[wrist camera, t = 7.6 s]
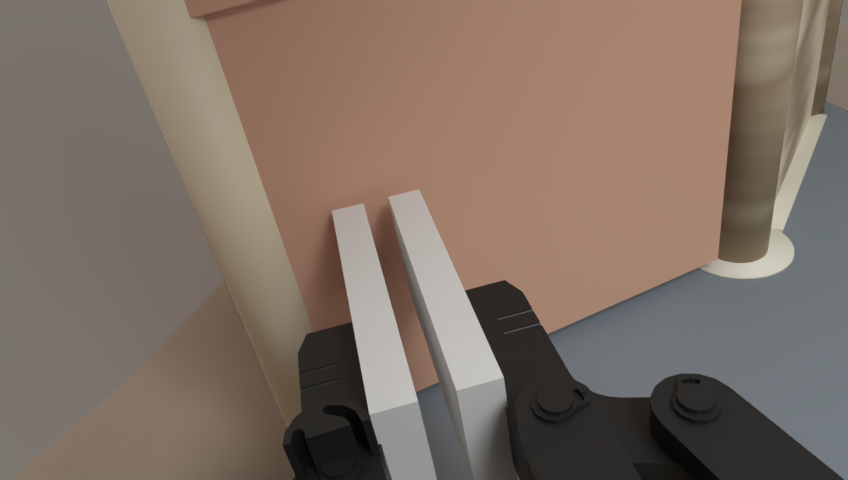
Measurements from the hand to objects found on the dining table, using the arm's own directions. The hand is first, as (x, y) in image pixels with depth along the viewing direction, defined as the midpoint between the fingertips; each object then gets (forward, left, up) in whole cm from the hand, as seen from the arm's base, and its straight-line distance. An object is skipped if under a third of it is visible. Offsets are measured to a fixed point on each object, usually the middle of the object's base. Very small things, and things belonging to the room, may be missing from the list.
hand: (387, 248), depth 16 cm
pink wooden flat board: (-3, -2, -5) cm, 7 cm away
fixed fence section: (-16, -8, -6) cm, 19 cm away
